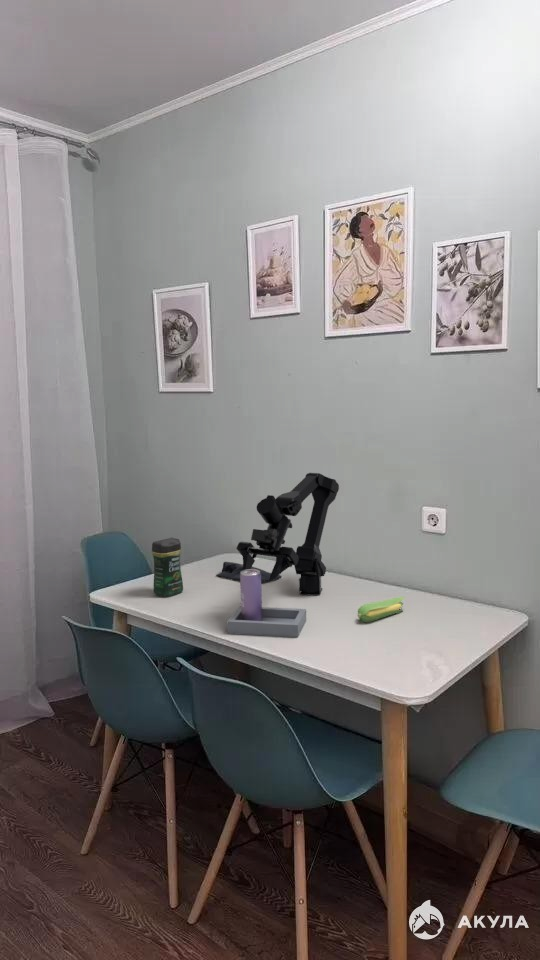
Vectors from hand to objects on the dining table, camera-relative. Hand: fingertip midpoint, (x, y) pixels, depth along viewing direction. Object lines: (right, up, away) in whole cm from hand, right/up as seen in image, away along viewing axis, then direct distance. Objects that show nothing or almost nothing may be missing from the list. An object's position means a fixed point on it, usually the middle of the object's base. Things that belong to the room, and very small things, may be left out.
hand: (256, 578), depth 200 cm
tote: (+3, -14, -1) cm, 14 cm away
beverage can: (-1, -13, 0) cm, 13 cm away
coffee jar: (-30, -10, +32) cm, 45 cm away
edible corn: (+37, -12, +5) cm, 40 cm away
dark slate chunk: (-4, -7, +49) cm, 49 cm away
